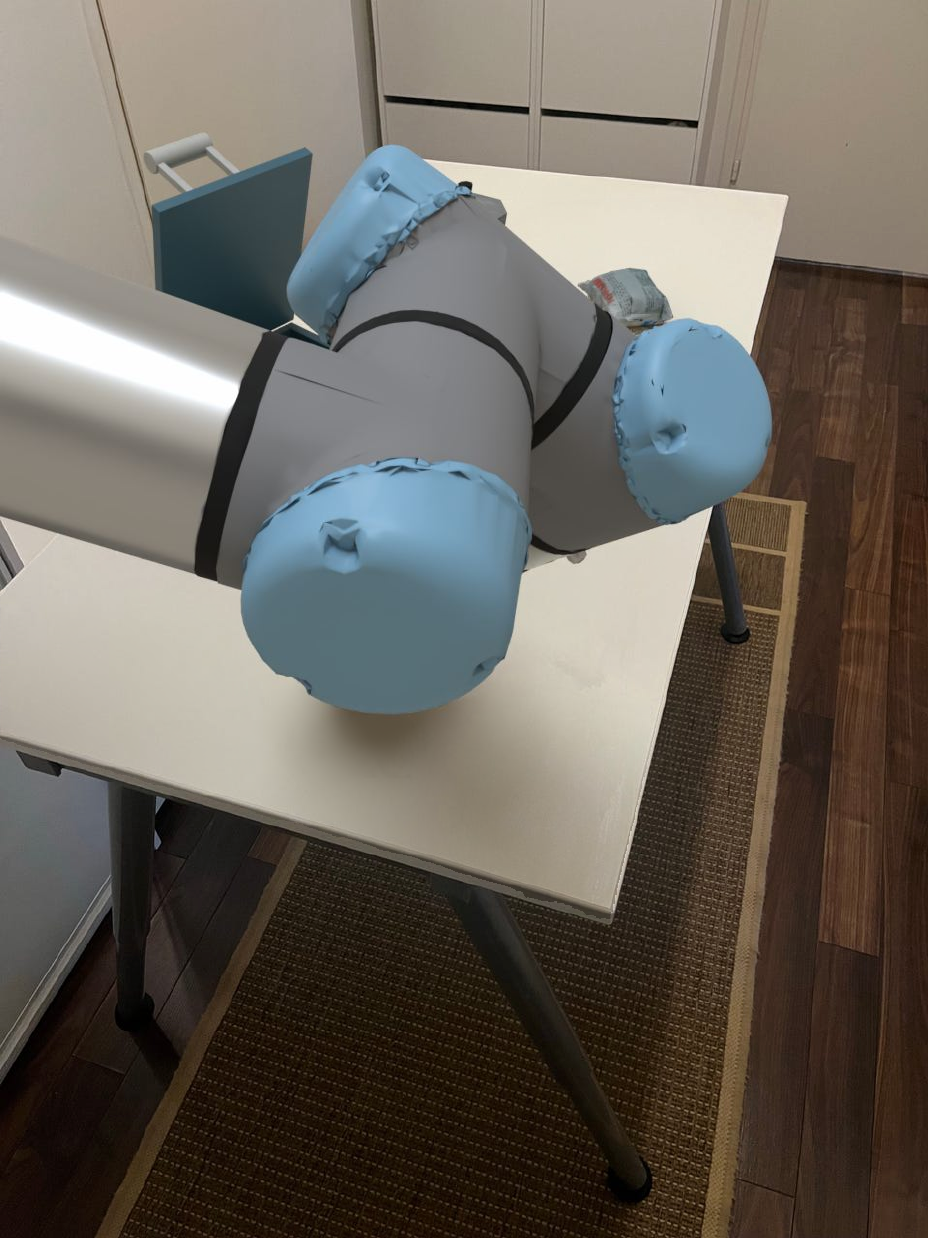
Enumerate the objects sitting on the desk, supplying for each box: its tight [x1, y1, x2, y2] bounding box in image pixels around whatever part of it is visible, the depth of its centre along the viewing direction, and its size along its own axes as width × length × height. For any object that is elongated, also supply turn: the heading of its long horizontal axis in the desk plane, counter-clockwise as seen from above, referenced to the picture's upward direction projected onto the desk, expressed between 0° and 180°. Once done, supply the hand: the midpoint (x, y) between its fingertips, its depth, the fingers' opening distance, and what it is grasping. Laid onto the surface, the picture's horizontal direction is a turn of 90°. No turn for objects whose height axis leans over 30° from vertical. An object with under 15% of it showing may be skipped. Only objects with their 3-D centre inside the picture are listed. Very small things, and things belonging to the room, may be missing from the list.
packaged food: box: [577, 267, 674, 328], centre depth 115 cm, size 9×12×5 cm
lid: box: [143, 131, 314, 331], centre depth 85 cm, size 19×16×9 cm
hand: (333, 584), depth 68 cm, fingers closed on ink bottle, 9 cm apart
